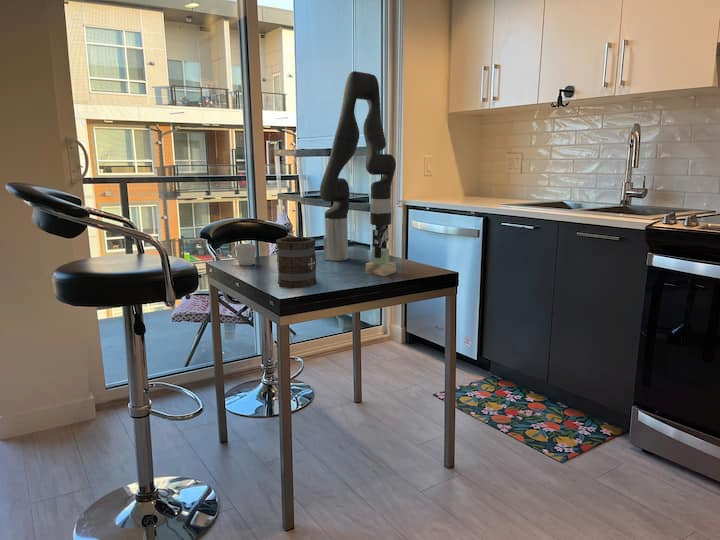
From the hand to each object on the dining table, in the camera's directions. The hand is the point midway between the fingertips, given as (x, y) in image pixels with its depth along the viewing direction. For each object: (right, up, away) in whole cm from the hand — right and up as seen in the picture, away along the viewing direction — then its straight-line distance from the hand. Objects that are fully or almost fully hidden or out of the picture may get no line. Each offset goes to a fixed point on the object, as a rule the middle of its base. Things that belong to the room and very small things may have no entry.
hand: (380, 255), depth 189 cm
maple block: (0, -7, +1) cm, 7 cm away
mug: (-28, -9, -11) cm, 32 cm away
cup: (-54, -3, +19) cm, 57 cm away
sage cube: (0, -3, +1) cm, 3 cm away
